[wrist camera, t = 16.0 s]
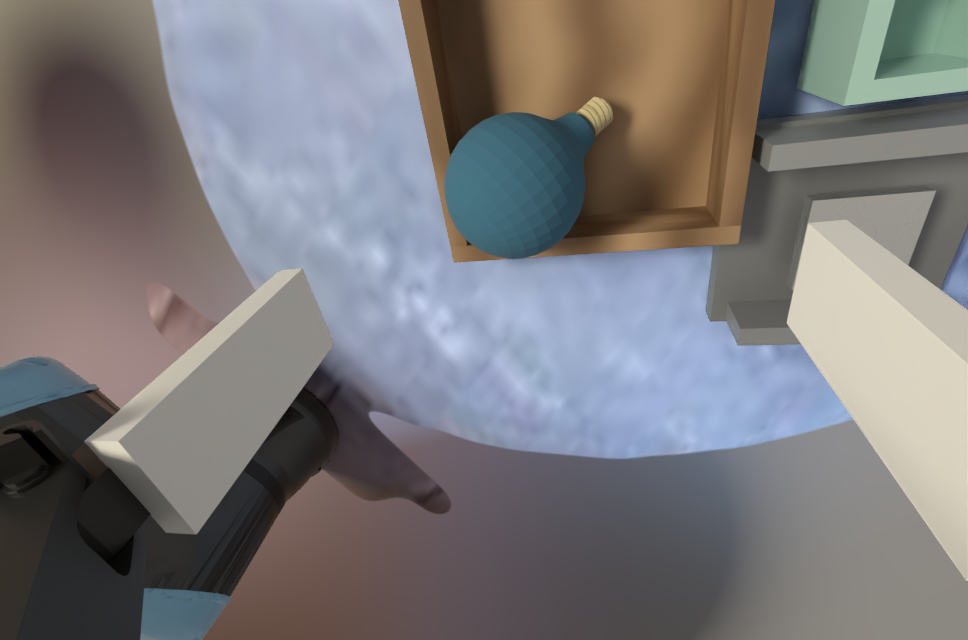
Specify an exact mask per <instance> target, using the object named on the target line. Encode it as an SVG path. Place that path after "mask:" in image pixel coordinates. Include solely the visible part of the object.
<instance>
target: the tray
mask: <svg viewBox="0 0 968 640" xmlns="http://www.w3.org/2000/svg"><path fill="white" fill-rule="evenodd" d="M398 1H399V6H400V10H401V15H402V20H403V25H404V29H405V34H406V39H407V43H408V48H409V53H410V58H411V62H412V67H413V72H414V76H415V81H416V86H417V91H418V95H419V100H420V105H421V110H422V114H423V119H424V124H425V128H426V133H427V138H428V143H429V147H430V152H431V157H432V161H433V166H434V171H435V176H436V180H437V185H438V190H439V194H440V199H441V204H442V209H443V213H444V218H445V223H446V228H447V232H448V237H449V242H450V246H451V251H452V256H453V261H454V262H469V261H484V260H500V259H508V258H502V257H496V256H493V255H490V254H488V253H485V252H483V251H481V250H479V249H478V248H477V247H475V246H474V245H472V244H471V243H469V242H468V241H467V240H466V239H465V238H464V237H463V236H462V235H461V233H460V232H459V231H458V229H457V228H456V226H455V225H454V223H453V221H452V218H451V216H450V214H449V212H448V208H447V204H446V200H445V189H444V182H445V175H446V169H447V165H448V162H449V160H450V157H451V154H452V152H453V151H454V149H455V147H456V146H457V144H458V142H459V141H460V140H461V139H462V138H463V137H464V136H465V135H466V134H467V132H468V131H469V130H470V129H471V128H473V127H474V126H476V125H477V124H479V123H480V122H481V121H483V120H485V119H488V118H490V117H492V116H495V115H499V114H505V113H511V112H522V113H530V114H534V115H537V116H540V117H543V118H546V119H550V120H555V119H557V118H560V117H562V116H563V115H565V114H567V113H569V112H574V113H576V112H577V111H579V109H581V108H582V107H583V106H584V105H585V104H586V103H588V102H589V101H590V100H591V99H592V98H593V97H598V98H602V99H605V100H607V101H608V102H609V103H610V105H611V107H612V111H613V120H612V122H611V123H610V124H609V125H608V126H606V127H605V128H604V129H603V130H602V131H601V132H600V133H599V134H598V135H596V136H595V137H594V144H593V146H592V147H591V149H590V150H589V151H588V153H587V155H586V156H585V158H584V174H585V182H586V185H585V194H584V202H583V205H582V208H581V211H580V214H579V216H578V218H577V219H576V221H575V223H574V224H573V226H572V228H571V229H570V231H569V232H568V233H567V234H566V235H565V236H564V238H563V239H562V240H561V241H559V242H558V243H557V244H555V245H554V246H553V247H551V248H550V249H548V250H546V251H543V252H541V253H539V254H537V255H534V256H530V257H545V256H560V255H575V254H590V253H605V252H621V251H636V250H651V249H666V248H681V247H696V246H711V245H726V244H738V242H739V236H740V229H741V223H742V216H743V209H744V203H745V196H746V190H747V183H748V177H749V170H750V163H751V157H752V150H753V144H754V137H755V131H756V124H757V118H758V111H759V104H760V98H761V91H762V85H763V78H764V72H765V65H766V59H767V52H768V45H769V39H770V32H771V26H772V19H773V13H774V6H775V0H398ZM530 257H526V258H530Z"/></svg>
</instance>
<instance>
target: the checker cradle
mask: <svg viewBox="0 0 968 640" xmlns="http://www.w3.org/2000/svg"><path fill="white" fill-rule="evenodd" d="M918 185H926V186H928V187H930V188H932V189H934V190H936V193H935V195H934V198H933V201H932V203H931V206H930V209H929V211H928V214H927V217H926V219H925V222H924V225H923V227H922V230H921V233H920V235H919V238H918V241H917V243H916V246H915V248H914V251H913V254H912V256H911V259H910V262H909V264H908V266H909V267H911V268H912V269H913V270H915V271H916V272H917V273H919V274H920V275H921V276H923V277H924V278H925V279H927V280H928V281H929V282H931V283H932V284H933V285H935V286H936V287H937V288H939V289H940V288H941V286H942V284H943V282H944V279H945V277H946V275H947V272H948V270H949V268H950V265H951V263H952V261H953V258H954V256H955V254H956V251H957V249H958V247H959V245H960V242H961V240H962V238H963V235H964V233H965V231H966V228H967V226H968V94H964V95H956V96H948V97H940V98H931V99H923V100H915V101H907V102H899V103H890V104H882V105H874V106H866V107H858V108H849V109H841V110H833V111H825V112H816V113H808V114H800V115H792V116H784V117H775V118H767V119H759V120H757V124H756V131H755V137H754V144H753V150H752V157H751V163H750V170H749V177H748V183H747V190H746V196H745V203H744V209H743V216H742V223H741V229H740V236H739V242H738V244H726V245H714V247H713V256H712V264H711V272H710V280H709V288H708V297H707V305H706V313H707V315H708V318H709V320H710V321H727V323H728V325H729V328H730V330H731V332H732V334H733V336H734V338H735V341H736V343H737V345H785V344H801V343H800V342H799V340H798V339H797V337H796V336H795V334H794V333H793V332H792V330H791V329H790V327H789V326H788V324H787V318H788V314H789V309H790V305H791V300H792V295H793V291H794V290H792V289H791V288H790V287H789V285H788V284H787V283H786V282H787V278H788V273H789V269H790V264H791V260H792V256H793V251H794V247H795V242H796V238H797V233H798V229H799V224H800V220H801V215H802V211H803V207H804V202H805V198H806V195H813V194H825V193H837V192H848V191H860V190H872V189H883V188H895V187H907V186H918Z"/></svg>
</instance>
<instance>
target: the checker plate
mask: <svg viewBox="0 0 968 640" xmlns="http://www.w3.org/2000/svg"><path fill="white" fill-rule="evenodd" d="M935 193H936V190H934V189H932V188H930V187H928V186H926V185H918V186H907V187H895V188H883V189H872V190H860V191H848V192H837V193H825V194H813V195H806V198H805V202H804V207H803V211H802V215H801V220H800V224H799V229H798V233H797V238H796V242H795V247H794V251H793V256H792V260H791V264H790V269H789V273H788V278H787V282H786V283H787V284H788V285H789V287H790V288H791V289H792V290H794V286H795V281H796V277H797V272H798V268H799V263H800V258H801V254H802V249H803V244H804V240H805V235H806V231H807V226H808V223H814V222H826V221H837V220H848V221H849V222H850V223H852V224H853V225H854V226H856V227H857V228H858V229H860V230H861V231H862V232H864V233H865V234H866V235H868V236H869V237H870V238H872V239H873V240H874V241H876V242H877V243H879V244H880V245H881V246H883V247H884V248H885V249H887V250H888V251H889V252H891V253H892V254H893V255H895V256H896V257H897V258H899V259H900V260H901V261H903V262H904V263H905V264H907V265H908V264H909V262H910V259H911V256H912V254H913V251H914V248H915V246H916V243H917V241H918V238H919V235H920V233H921V230H922V227H923V225H924V222H925V219H926V217H927V214H928V211H929V209H930V206H931V203H932V201H933V198H934V195H935Z"/></svg>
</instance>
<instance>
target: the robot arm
mask: <svg viewBox="0 0 968 640" xmlns="http://www.w3.org/2000/svg"><path fill="white" fill-rule="evenodd" d="M787 324H788V326H789V327H790V329H791V330H792V332H793V333H794V334H795V336H796V337H797V339H798V340H799V342H800V343H801V344H802V346H803V347H804V349H805V350H806V352H807V353H808V355H809V356H810V357H811V359H812V360H813V362H814V363H815V365H816V366H817V367H818V369H819V370H820V372H821V373H822V375H823V376H824V378H825V379H826V380H827V382H828V383H829V385H830V386H831V388H832V389H833V390H834V392H835V393H836V395H837V396H838V398H839V399H840V401H841V402H842V403H843V405H844V406H845V408H846V409H847V411H848V412H849V413H850V415H851V416H852V418H853V419H854V421H855V422H856V423H857V425H858V426H859V428H860V429H861V431H862V432H863V434H864V435H865V436H866V438H867V439H868V441H869V442H870V444H871V445H872V447H873V448H874V449H875V451H876V452H877V454H878V455H879V457H880V458H881V459H882V461H883V462H884V464H885V465H886V466H887V468H888V469H889V471H890V472H891V474H892V475H893V477H894V478H895V479H896V481H897V482H898V484H899V485H900V487H901V488H902V490H903V491H904V492H905V494H906V495H907V497H908V498H909V500H910V501H911V503H912V504H913V505H914V507H915V508H916V510H917V511H918V513H919V514H920V515H921V517H922V518H923V520H924V521H925V523H926V524H927V526H928V527H929V528H930V530H931V531H932V533H933V534H934V536H935V537H936V538H937V540H938V541H939V543H940V544H941V545H942V547H943V549H944V550H945V551H946V553H947V554H948V556H949V557H950V559H951V560H952V561H953V563H954V564H955V566H956V567H957V569H958V570H959V571H960V573H961V574H962V576H963V577H964V579H965V580H966V581H967V582H968V310H967V309H966V308H964V307H963V306H962V305H960V304H959V303H958V302H956V301H955V300H954V299H952V298H951V297H950V296H948V295H947V294H946V293H944V292H943V291H942V290H940V289H939V288H937V287H936V286H935V285H933V284H932V283H931V282H929V281H928V280H927V279H925V278H924V277H923V276H921V275H920V274H919V273H917V272H916V271H915V270H913V269H912V268H911V267H909V266H908V265H907V264H905V263H904V262H903V261H901V260H900V259H899V258H897V257H896V256H895V255H893V254H892V253H891V252H889V251H888V250H887V249H885V248H884V247H883V246H881V245H880V244H879V243H877V242H876V241H874V240H873V239H872V238H870V237H869V236H868V235H866V234H865V233H864V232H862V231H861V230H860V229H858V228H857V227H856V226H854V225H853V224H852V223H850V222H849V221H848V220H837V221H826V222H814V223H808V226H807V231H806V235H805V240H804V244H803V249H802V254H801V258H800V263H799V268H798V272H797V277H796V281H795V286H794V291H793V295H792V300H791V305H790V309H789V314H788V318H787ZM333 345H334V342H333V340H332V338H331V335H330V333H329V331H328V328H327V326H326V323H325V321H324V319H323V316H322V314H321V311H320V309H319V307H318V304H317V302H316V300H315V297H314V295H313V292H312V290H311V288H310V285H309V283H308V281H307V278H306V276H305V273H304V271H303V269H290V270H280V271H278V272H277V273H276V274H275V275H274V276H273V277H272V278H270V279H269V280H268V281H267V282H266V283H265V284H264V285H262V286H261V287H260V288H259V289H258V290H257V291H256V292H254V293H253V294H252V295H251V296H250V297H249V298H248V299H246V300H245V301H244V302H243V303H242V304H241V305H240V306H238V307H237V308H236V309H235V310H234V311H233V312H232V313H230V314H229V315H228V316H227V317H226V318H225V319H224V320H223V321H221V322H220V323H219V324H218V325H217V326H215V327H214V328H213V329H212V330H211V331H210V332H209V333H207V334H206V335H205V336H204V337H203V338H202V339H201V340H199V341H198V342H197V343H196V344H195V345H194V346H193V347H191V348H190V349H189V350H188V351H187V352H186V353H185V354H183V355H182V356H181V357H180V358H179V359H178V360H177V361H176V362H174V363H173V364H172V365H171V366H170V367H169V368H167V369H166V370H165V371H164V372H163V373H162V374H161V375H159V376H158V377H157V378H156V379H155V380H154V381H152V382H151V383H150V384H149V385H148V386H147V387H146V388H144V389H143V390H142V391H141V392H140V393H139V394H138V395H137V396H135V397H134V398H133V399H132V400H131V401H130V402H128V403H127V404H126V405H125V406H124V407H123V408H122V409H120V408H119V407H118V406H116V405H115V404H114V403H113V402H112V401H111V400H109V399H108V398H107V397H106V396H105V395H104V394H102V393H101V392H100V391H99V388H98V386H96V385H95V384H90V383H88V382H87V381H86V380H84V379H83V378H82V377H80V376H79V375H77V374H76V373H75V372H73V371H72V370H70V369H69V368H68V367H66V366H65V365H64V364H62V363H61V362H59V361H57V360H55V359H52V358H49V357H41V356H37V357H27V358H23V359H20V360H17V361H14V362H11V363H9V364H6V365H4V366H2V367H0V640H202V639H203V637H204V636H205V635H206V633H207V631H208V630H209V629H210V627H211V626H212V624H213V623H214V621H215V620H216V619H217V617H218V616H219V614H220V613H221V611H222V610H223V608H224V607H225V606H226V605H227V604H228V603H229V601H230V600H231V595H232V593H233V591H234V590H235V588H236V586H237V585H238V583H239V581H240V580H241V578H242V576H243V574H244V573H245V571H246V569H247V568H248V566H249V564H250V563H251V561H252V559H253V557H254V556H255V554H256V552H257V551H258V549H259V547H260V546H261V544H262V542H263V541H264V539H265V537H266V535H267V534H268V532H269V530H270V529H271V527H272V525H273V524H274V521H275V520H276V518H277V516H278V515H279V513H280V512H281V510H282V508H283V506H284V505H285V503H286V502H287V501H288V500H289V499H290V498H291V497H292V496H293V495H294V494H295V493H296V492H297V491H298V490H299V489H300V488H301V487H302V486H303V485H304V484H305V483H306V482H307V481H308V480H309V478H310V477H312V476H314V475H316V474H317V473H319V472H320V471H321V470H322V469H323V468H324V467H325V466H326V464H327V463H328V461H329V459H330V458H331V456H332V454H333V452H334V451H335V449H336V446H337V443H338V432H337V428H336V425H335V423H334V420H333V419H332V417H331V415H330V414H329V412H328V411H327V410H326V408H325V407H324V406H323V405H322V404H321V403H320V402H319V401H318V400H317V399H316V398H315V397H314V396H313V395H311V394H310V393H309V392H307V391H306V390H305V389H303V387H304V385H305V384H306V383H307V381H308V380H309V378H310V377H311V376H312V374H313V373H314V371H315V370H316V369H317V367H318V366H319V365H320V363H321V362H322V360H323V359H324V358H325V356H326V355H327V353H328V352H329V351H330V349H331V348H332V347H333Z"/></svg>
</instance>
